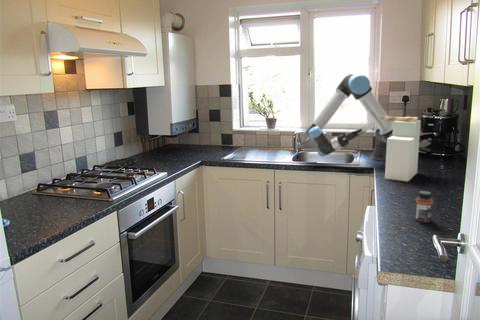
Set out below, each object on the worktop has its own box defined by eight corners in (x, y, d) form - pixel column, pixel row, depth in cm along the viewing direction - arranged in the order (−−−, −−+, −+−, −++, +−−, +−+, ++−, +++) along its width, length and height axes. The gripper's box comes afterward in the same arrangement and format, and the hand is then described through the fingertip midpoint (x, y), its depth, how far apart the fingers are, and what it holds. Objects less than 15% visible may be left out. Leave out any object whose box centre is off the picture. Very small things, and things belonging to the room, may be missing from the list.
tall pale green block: (384, 178, 223) (387, 123, 217) (395, 170, 241) (398, 119, 235) (407, 181, 217) (411, 124, 211) (416, 173, 234) (420, 120, 228)
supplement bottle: (418, 216, 162) (420, 189, 160) (434, 220, 158) (436, 192, 156) (411, 220, 158) (414, 192, 156) (427, 224, 154) (429, 195, 152)
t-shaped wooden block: (379, 120, 233) (380, 116, 232) (382, 119, 237) (383, 115, 237) (415, 122, 222) (415, 118, 222) (417, 121, 227) (418, 117, 226)
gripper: (350, 144, 261) (380, 129, 248) (335, 150, 241) (367, 134, 228) (344, 133, 262) (374, 118, 249) (329, 138, 241) (360, 122, 229)
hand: (371, 125), depth 239 cm, fingers open, 13 cm apart
